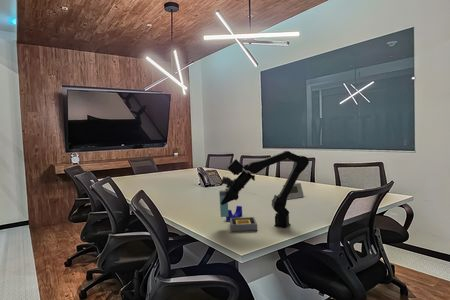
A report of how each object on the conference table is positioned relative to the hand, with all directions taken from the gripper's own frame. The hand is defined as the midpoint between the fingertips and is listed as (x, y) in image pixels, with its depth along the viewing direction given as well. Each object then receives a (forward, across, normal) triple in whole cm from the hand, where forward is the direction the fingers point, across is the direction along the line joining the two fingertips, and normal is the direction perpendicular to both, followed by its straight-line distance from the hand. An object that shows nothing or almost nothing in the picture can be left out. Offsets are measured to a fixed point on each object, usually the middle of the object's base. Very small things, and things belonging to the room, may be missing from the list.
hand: (221, 203), depth 155 cm
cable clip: (+4, -18, +15) cm, 24 cm away
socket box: (+2, 0, +17) cm, 17 cm away
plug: (+4, 0, +6) cm, 7 cm away
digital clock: (-28, -66, +48) cm, 86 cm away
